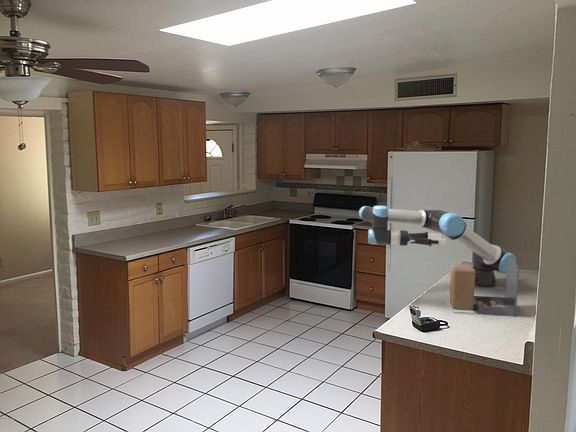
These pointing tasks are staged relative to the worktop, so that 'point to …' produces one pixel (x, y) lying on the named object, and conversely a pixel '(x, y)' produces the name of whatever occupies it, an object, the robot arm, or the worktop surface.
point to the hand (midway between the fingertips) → (443, 239)
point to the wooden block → (462, 287)
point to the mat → (461, 310)
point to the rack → (508, 300)
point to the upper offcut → (492, 304)
